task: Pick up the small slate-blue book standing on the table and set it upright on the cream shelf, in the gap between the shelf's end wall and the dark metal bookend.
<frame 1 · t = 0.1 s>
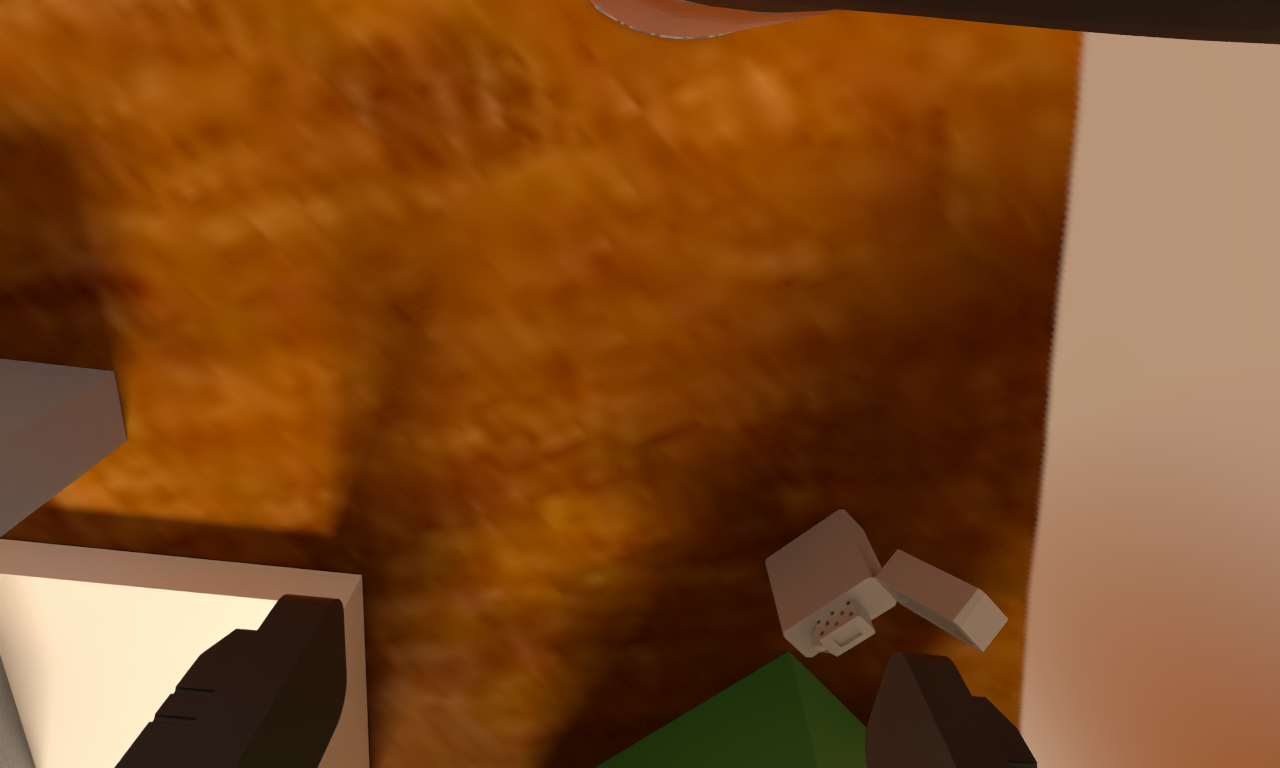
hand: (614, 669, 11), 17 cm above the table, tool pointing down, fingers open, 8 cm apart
lighter: (841, 524, 31), on the table
bookend: (47, 679, 34), resting on shelf
shelf: (148, 672, 34), on the table
small book: (40, 397, 28), on the table
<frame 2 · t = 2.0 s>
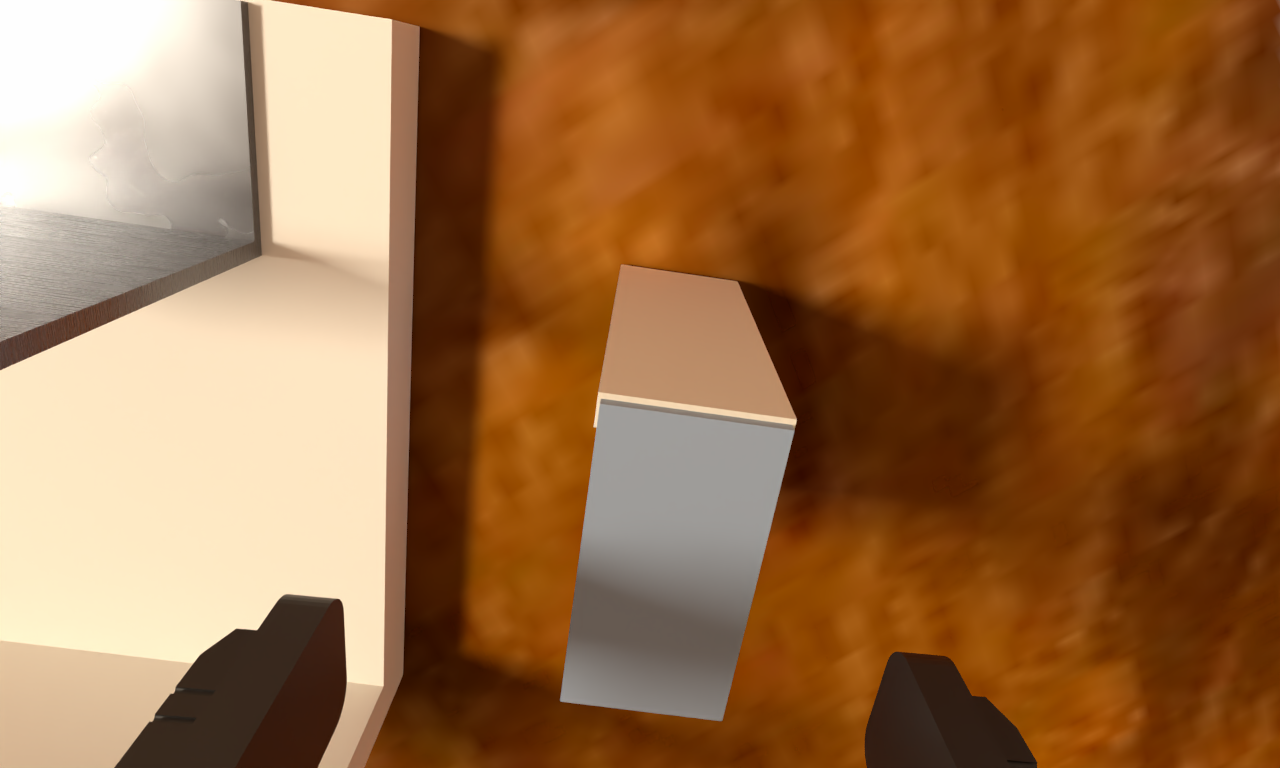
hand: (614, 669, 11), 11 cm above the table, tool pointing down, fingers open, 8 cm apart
bookend: (104, 203, 19), resting on shelf
shelf: (162, 375, 21), on the table
small book: (661, 378, 21), on the table
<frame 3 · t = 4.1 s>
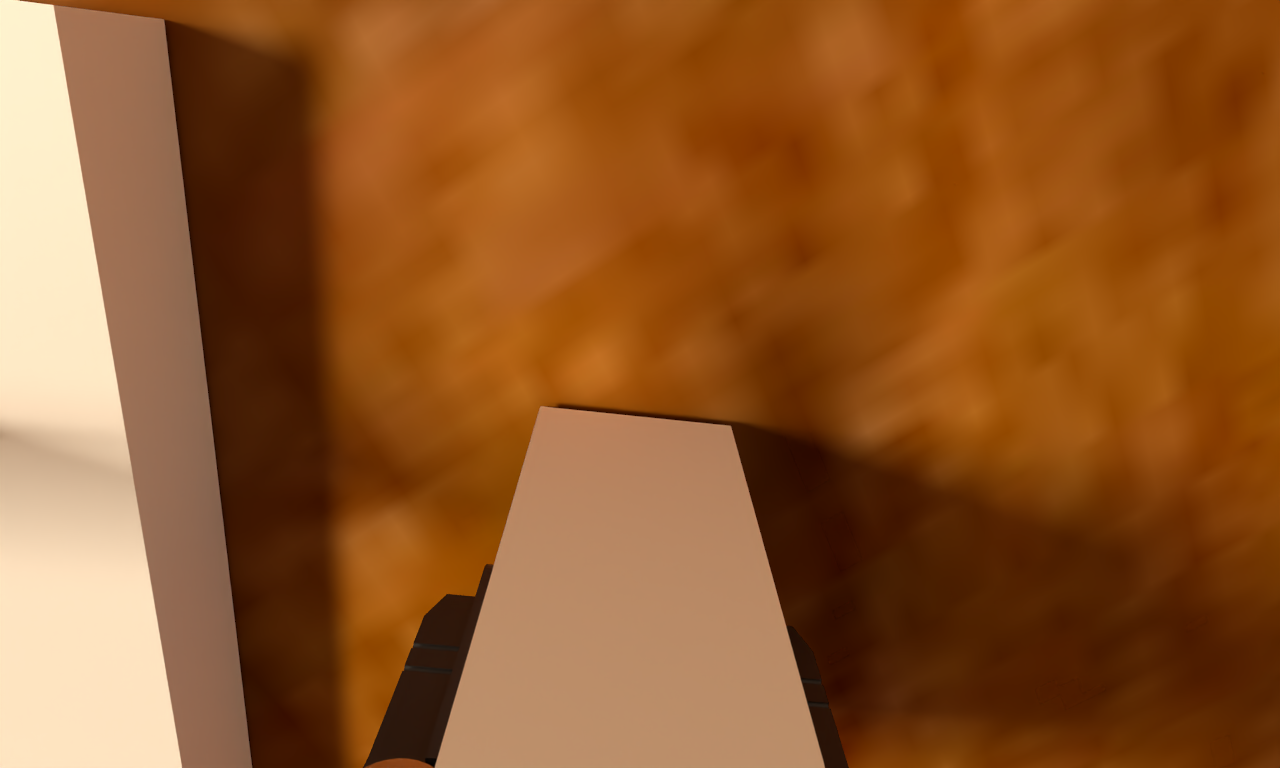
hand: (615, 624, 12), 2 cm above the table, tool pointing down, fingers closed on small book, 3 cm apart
small book: (616, 566, 13), on the table, touching gripper
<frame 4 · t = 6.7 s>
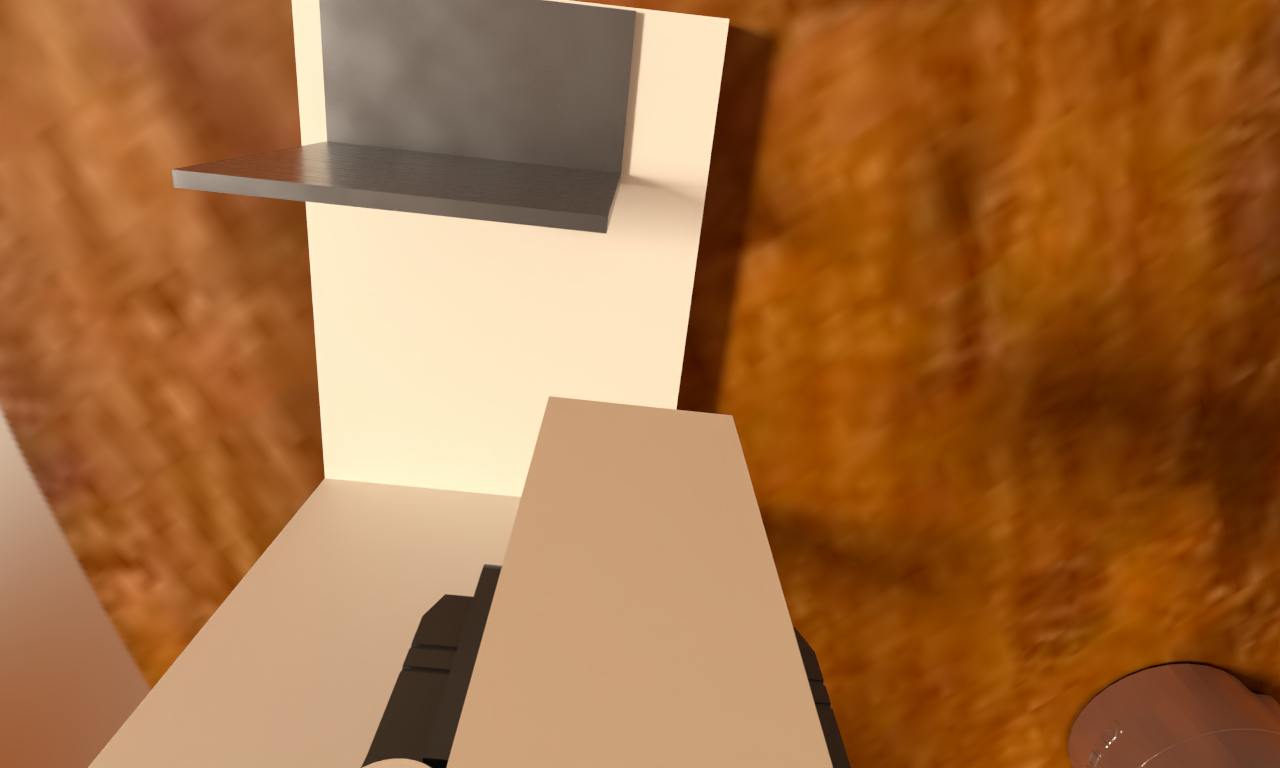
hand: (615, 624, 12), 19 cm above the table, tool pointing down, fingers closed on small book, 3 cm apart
bookend: (488, 157, 27), resting on shelf
shelf: (510, 283, 29), on the table
small book: (621, 551, 14), point 17 cm above the table, touching gripper
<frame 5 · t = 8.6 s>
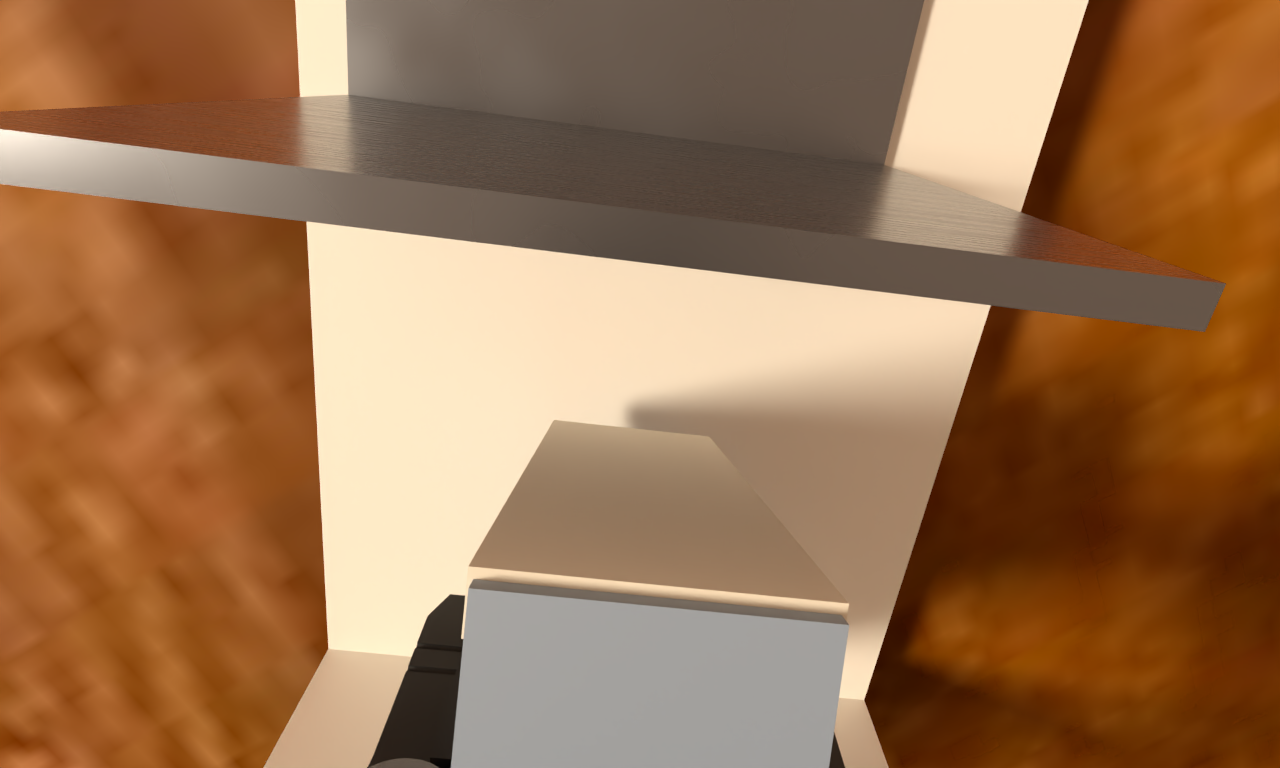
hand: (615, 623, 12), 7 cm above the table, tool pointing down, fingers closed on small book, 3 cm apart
bookend: (622, 133, 16), resting on shelf
shelf: (641, 342, 18), on the table
small book: (614, 576, 15), point 4 cm above the table, tilted 18°, touching gripper
when the fingers open (5 cm above the table, at t = 9.8 s): small book drops 1 cm, resting on shelf.
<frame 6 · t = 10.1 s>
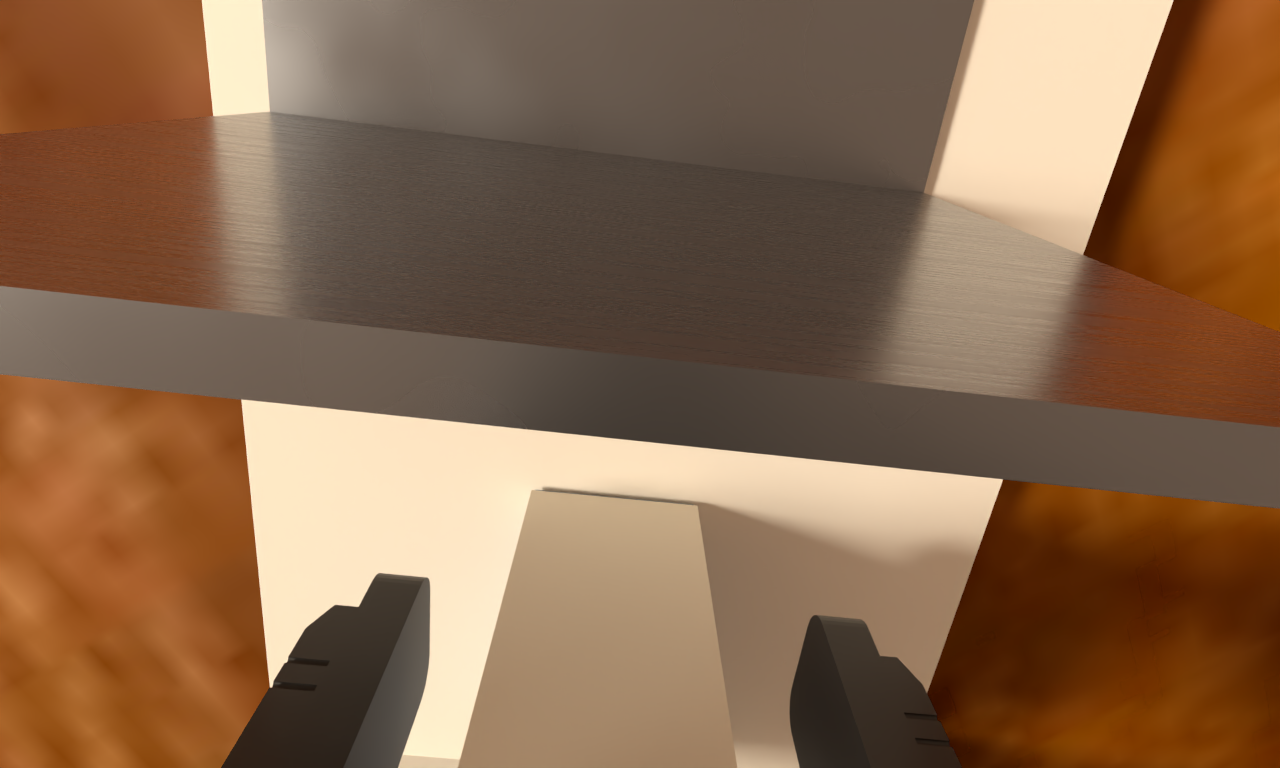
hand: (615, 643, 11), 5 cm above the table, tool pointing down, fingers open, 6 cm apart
bookend: (608, 152, 13), resting on shelf
shelf: (633, 393, 15), on the table
small book: (600, 624, 15), point 2 cm above the table, touching shelf
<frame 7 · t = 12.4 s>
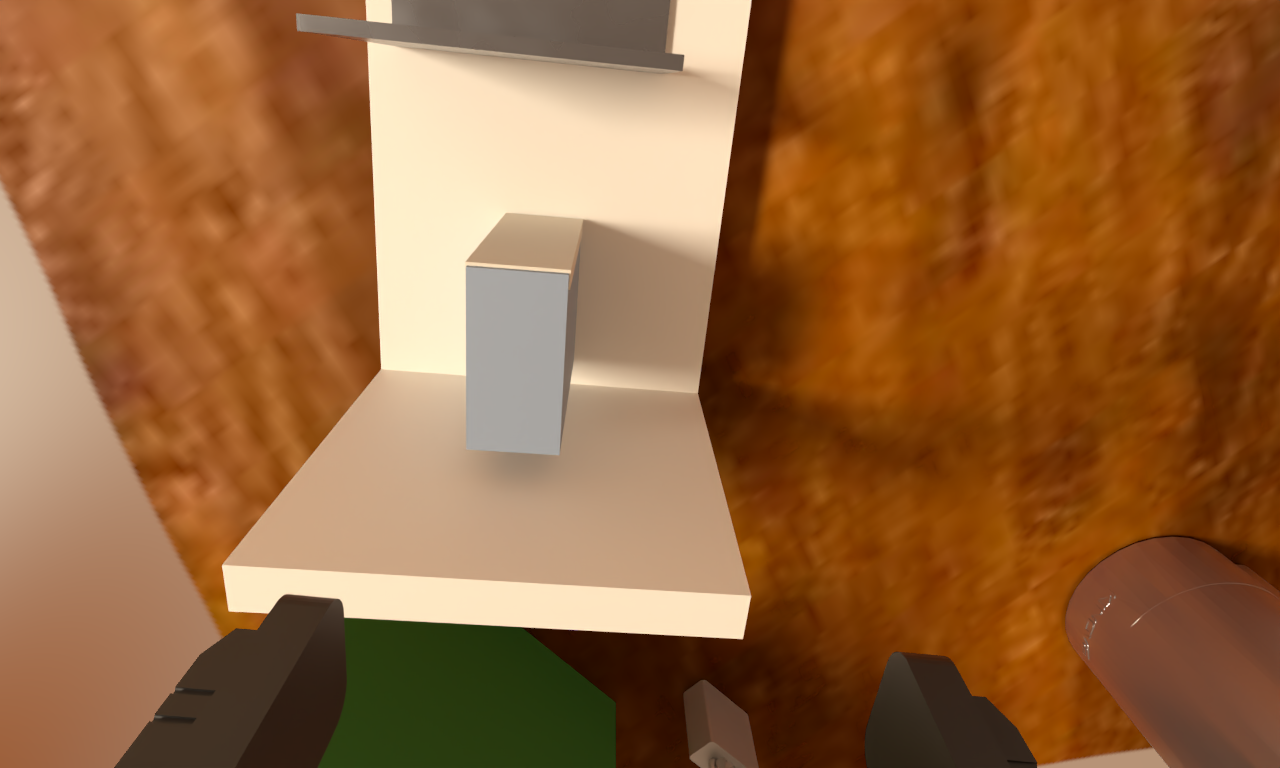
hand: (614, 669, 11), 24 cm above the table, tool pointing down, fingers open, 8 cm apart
lighter: (731, 715, 43), on the table
bookend: (535, 56, 29), resting on shelf
hardback book: (460, 648, 41), on the table
shelf: (555, 179, 31), on the table
small book: (542, 289, 31), point 2 cm above the table, touching shelf
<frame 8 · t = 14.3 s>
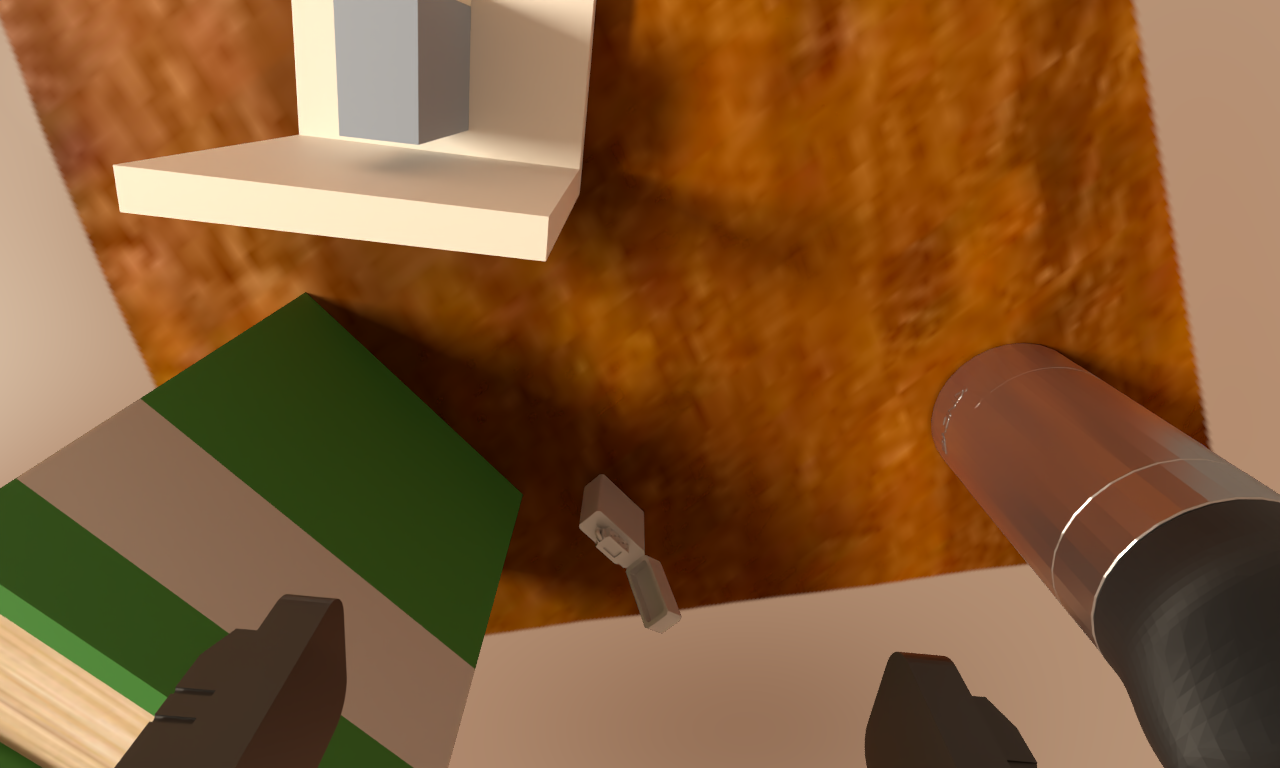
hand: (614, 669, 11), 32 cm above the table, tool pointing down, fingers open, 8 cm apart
lighter: (629, 514, 48), on the table
hardback book: (380, 433, 45), on the table
small book: (438, 60, 35), point 2 cm above the table, touching shelf
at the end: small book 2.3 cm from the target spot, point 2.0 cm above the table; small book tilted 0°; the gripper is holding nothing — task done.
